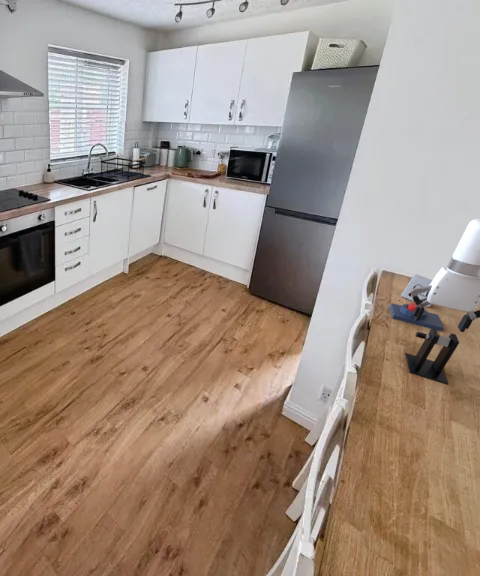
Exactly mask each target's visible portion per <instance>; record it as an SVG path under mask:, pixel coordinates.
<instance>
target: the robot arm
mask: <svg viewBox="0 0 480 576" xmlns="http://www.w3.org/2000/svg"><path fill="white" fill-rule="evenodd" d="M431 280H432V282H431V284H430V285H429V286H426V287H419V288H412V289H411V296H412V298H413V300H414V301H413V303H416V305H417V306H416V308H415V310H414V312H413V316H414V318H415V321H419V319H420V317H421V316H422V314H423V312H424V309H425V308H426V306H427V305H430V304H432V305H434V306H438V307H443V308H447V309H452V310H455V311H459V312H464V313H465V312H466V314H463V316H462V318H461V320H460V321H459V323H458V325H457V328H458V331H459V332H461V333H464V332H465V331H466V330H469V328H470V327H471V325H472V323H473V321H476V320H477V319H480V309H478V310H477V308H478V307H479V304H480V217H479V218H478V217H477V218H474V219H472V220H470V221H469V223H468V224H467V226H466V228H465V230H464V231H463V234H462V236H461V238H460V240H459V242H458V244H457V246H456V248H455V250H454V252H453V253H452V256H451V258H450V260H449V262H448V264H447V265H446V266H442V267H441V268H440V270H438V272H437V273H436V274H435V276H434V277H433V279H431ZM424 292H426V293H425V296H426V297H425V298H422V299H419V297H418V294H419V293H424Z"/></svg>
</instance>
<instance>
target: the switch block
mask: <svg viewBox="0 0 480 576" xmlns="http://www.w3.org/2000/svg"><path fill="white" fill-rule="evenodd" d="M409 304H410V303H404V304H401V305H400V304H397V303H393V302H391V303H390V306H389V307H388V310H389V311H390V314H391V319H393V320H397V321H401V322H404V323H408V324H410V325H411V324H412V325H415V326H418V327H419V326H420V327H424V328H427V329H429V330H431V328H433V329H436V330H437V332H438V331H439V332H443V331H444V325H443V322H442V320H441V317H440V315H439V314H437V313H432V312H429V311H428V310H426V309H425V308H424V312H423V314H422V316H421V317H420V319H419V321H415V318H414V316H413V311H411V310H409V309H408V308H407V307H408V306H409Z"/></svg>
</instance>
